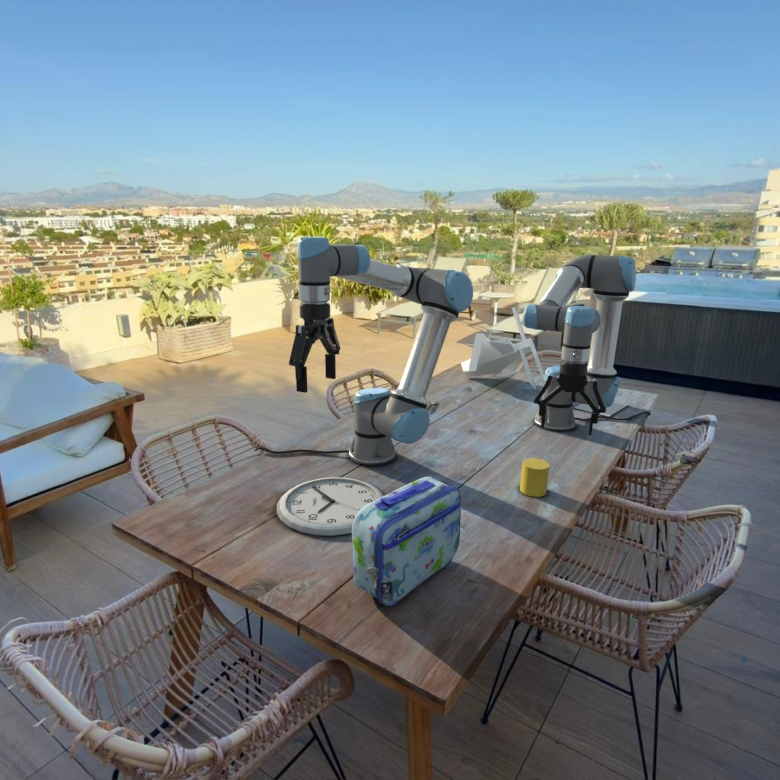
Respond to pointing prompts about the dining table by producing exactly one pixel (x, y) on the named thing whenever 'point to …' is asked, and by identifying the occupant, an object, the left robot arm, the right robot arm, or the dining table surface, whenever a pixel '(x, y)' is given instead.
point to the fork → (432, 403)
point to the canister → (534, 477)
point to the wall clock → (325, 505)
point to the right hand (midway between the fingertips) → (566, 429)
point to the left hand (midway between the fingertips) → (316, 384)
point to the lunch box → (405, 538)
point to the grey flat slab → (609, 410)
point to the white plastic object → (500, 355)
